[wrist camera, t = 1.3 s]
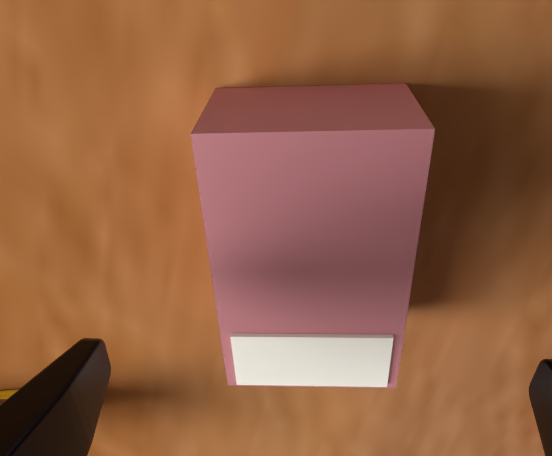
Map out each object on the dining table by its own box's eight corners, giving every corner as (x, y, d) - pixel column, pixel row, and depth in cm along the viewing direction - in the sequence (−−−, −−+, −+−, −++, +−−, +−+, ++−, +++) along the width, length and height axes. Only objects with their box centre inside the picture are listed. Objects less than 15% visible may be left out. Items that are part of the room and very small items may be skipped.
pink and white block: (404, 80, 12) (436, 131, 9) (379, 306, 17) (396, 391, 14) (217, 85, 13) (189, 136, 10) (241, 306, 17) (227, 389, 14)
